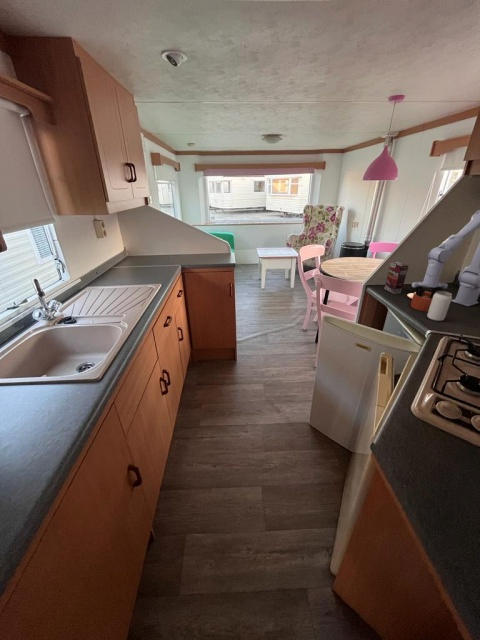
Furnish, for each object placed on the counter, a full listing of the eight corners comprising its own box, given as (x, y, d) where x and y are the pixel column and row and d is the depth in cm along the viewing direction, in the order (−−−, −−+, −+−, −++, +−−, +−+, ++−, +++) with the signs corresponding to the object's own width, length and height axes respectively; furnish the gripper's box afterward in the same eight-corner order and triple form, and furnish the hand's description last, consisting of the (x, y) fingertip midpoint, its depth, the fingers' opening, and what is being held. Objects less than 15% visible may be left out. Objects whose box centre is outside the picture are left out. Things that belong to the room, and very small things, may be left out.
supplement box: (383, 289, 154) (390, 262, 147) (391, 288, 155) (397, 261, 148) (393, 294, 147) (401, 265, 140) (401, 293, 147) (409, 265, 140)
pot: (418, 302, 136) (422, 290, 133) (439, 309, 128) (444, 296, 125) (405, 305, 132) (409, 293, 129) (426, 313, 124) (430, 300, 121)
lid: (415, 293, 147) (417, 285, 145) (436, 300, 138) (438, 291, 136) (402, 297, 143) (404, 289, 141) (423, 304, 134) (425, 295, 132)
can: (446, 321, 116) (456, 296, 110) (430, 320, 117) (438, 295, 112) (439, 315, 121) (448, 290, 116) (424, 314, 123) (432, 290, 117)
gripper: (445, 272, 125) (436, 299, 131) (412, 271, 127) (405, 297, 133) (453, 276, 119) (444, 304, 125) (419, 275, 121) (411, 303, 127)
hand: (424, 301), depth 129 cm, fingers closed on bun, 5 cm apart
